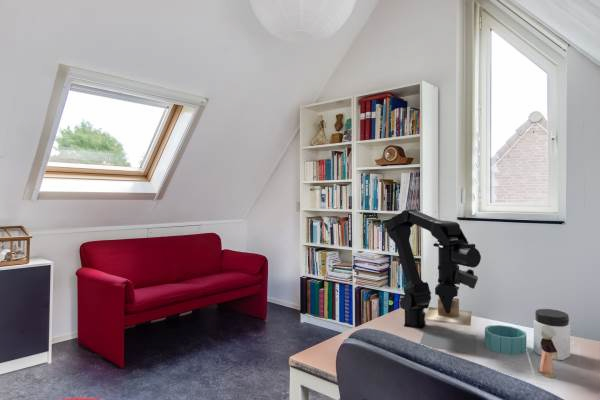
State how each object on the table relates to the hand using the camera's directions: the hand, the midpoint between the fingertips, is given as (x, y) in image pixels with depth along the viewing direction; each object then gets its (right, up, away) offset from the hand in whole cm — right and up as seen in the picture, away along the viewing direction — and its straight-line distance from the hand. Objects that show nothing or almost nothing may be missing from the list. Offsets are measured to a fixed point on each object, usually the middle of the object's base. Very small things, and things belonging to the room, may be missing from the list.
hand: (448, 311), depth 126 cm
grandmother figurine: (+17, -10, -23) cm, 30 cm away
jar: (+26, -10, -10) cm, 30 cm away
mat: (0, -10, 0) cm, 10 cm away
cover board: (0, -2, 0) cm, 2 cm away
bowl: (+15, -10, -5) cm, 19 cm away
